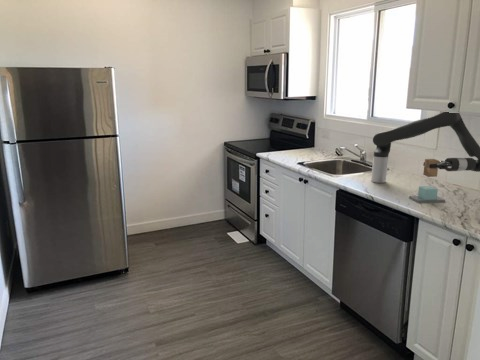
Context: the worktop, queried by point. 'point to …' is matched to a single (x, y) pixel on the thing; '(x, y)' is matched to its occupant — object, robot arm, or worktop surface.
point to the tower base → (419, 200)
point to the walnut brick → (430, 171)
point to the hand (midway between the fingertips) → (426, 165)
